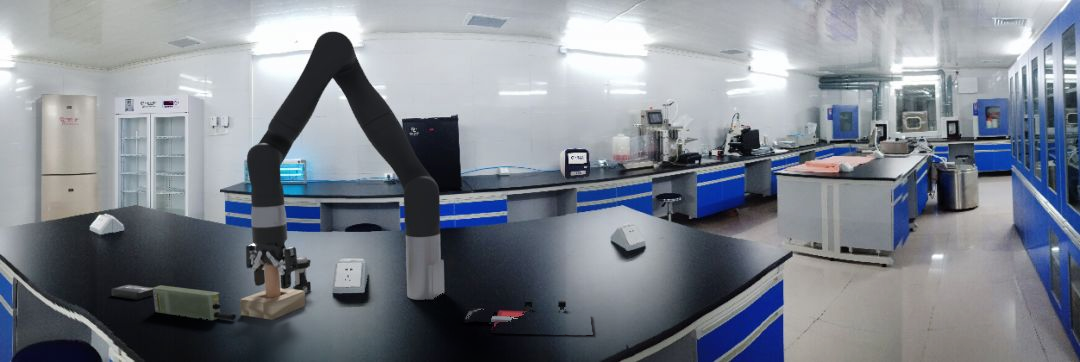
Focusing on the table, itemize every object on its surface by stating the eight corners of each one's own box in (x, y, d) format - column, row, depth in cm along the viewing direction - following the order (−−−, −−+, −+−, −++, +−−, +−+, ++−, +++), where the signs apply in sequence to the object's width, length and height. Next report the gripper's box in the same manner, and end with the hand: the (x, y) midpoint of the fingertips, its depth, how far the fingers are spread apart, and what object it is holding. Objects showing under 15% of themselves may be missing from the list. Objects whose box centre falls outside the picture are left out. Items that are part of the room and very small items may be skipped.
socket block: (305, 305, 120) (304, 290, 120) (272, 319, 111) (271, 303, 110) (275, 301, 123) (275, 286, 123) (241, 314, 114) (240, 299, 114)
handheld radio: (166, 308, 119) (241, 319, 112) (153, 314, 116) (228, 325, 108) (163, 284, 118) (238, 293, 111) (149, 288, 115) (225, 298, 108)
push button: (300, 298, 126) (298, 262, 125) (283, 297, 127) (281, 261, 126) (316, 290, 132) (314, 256, 132) (299, 289, 133) (297, 255, 132)
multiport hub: (138, 301, 125) (137, 292, 125) (111, 297, 128) (110, 288, 128) (156, 295, 129) (155, 287, 129) (129, 292, 133) (128, 284, 132)
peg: (284, 308, 118) (282, 262, 117) (273, 313, 115) (271, 266, 114) (274, 307, 119) (272, 261, 118) (263, 311, 116) (261, 265, 115)
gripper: (303, 222, 116) (306, 284, 118) (261, 219, 121) (264, 279, 122) (278, 227, 109) (282, 294, 111) (234, 224, 114) (238, 288, 115)
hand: (272, 286), depth 116 cm, fingers open, 8 cm apart
